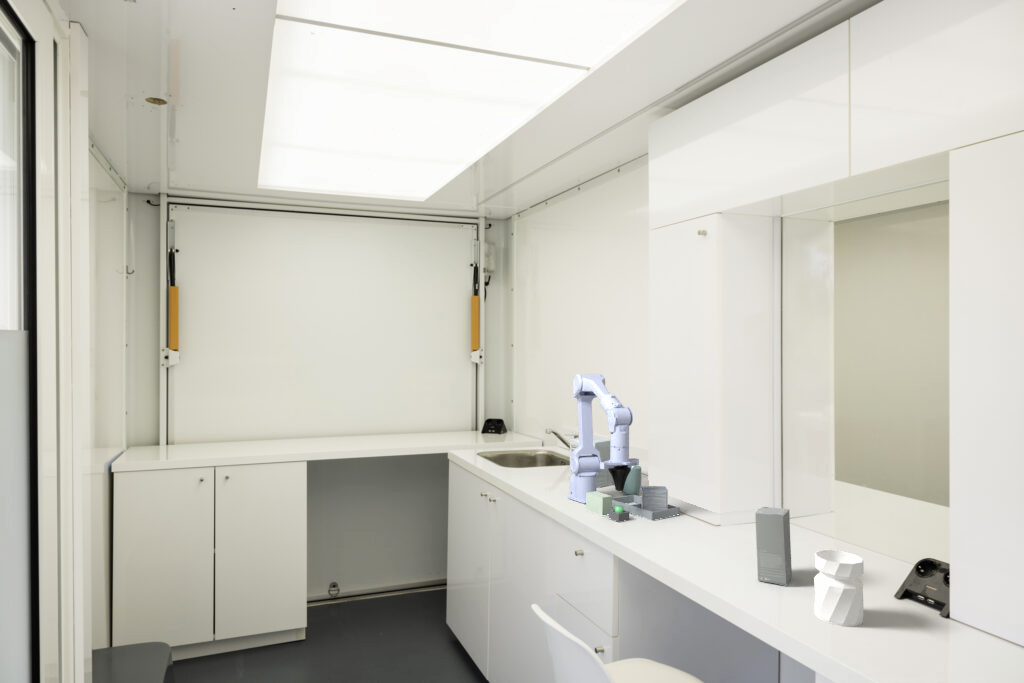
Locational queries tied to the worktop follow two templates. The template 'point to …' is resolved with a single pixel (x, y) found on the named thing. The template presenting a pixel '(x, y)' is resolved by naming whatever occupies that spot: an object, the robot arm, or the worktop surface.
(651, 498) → the medicine box
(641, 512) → the grey divided tray
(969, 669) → the worktop surface
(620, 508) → the button
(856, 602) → the white faceted vase
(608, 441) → the supplement box
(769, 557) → the skincare box
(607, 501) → the carton
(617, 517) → the button housing
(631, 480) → the cup
